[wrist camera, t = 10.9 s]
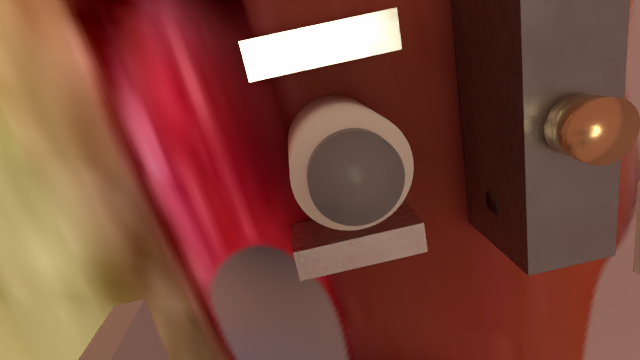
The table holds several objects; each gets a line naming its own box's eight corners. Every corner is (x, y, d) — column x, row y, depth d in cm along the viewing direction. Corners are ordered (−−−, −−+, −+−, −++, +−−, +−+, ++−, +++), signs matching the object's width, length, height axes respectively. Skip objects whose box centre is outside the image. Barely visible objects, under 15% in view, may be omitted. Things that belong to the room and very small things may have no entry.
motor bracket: (300, 261, 27) (309, 355, 19) (241, 25, 22) (215, 7, 14) (536, 207, 28) (647, 274, 19) (531, -37, 23) (680, -91, 14)
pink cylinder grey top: (298, 194, 26) (306, 254, 18) (277, 106, 24) (275, 131, 16) (385, 174, 26) (429, 225, 18) (371, 85, 24) (413, 100, 16)
